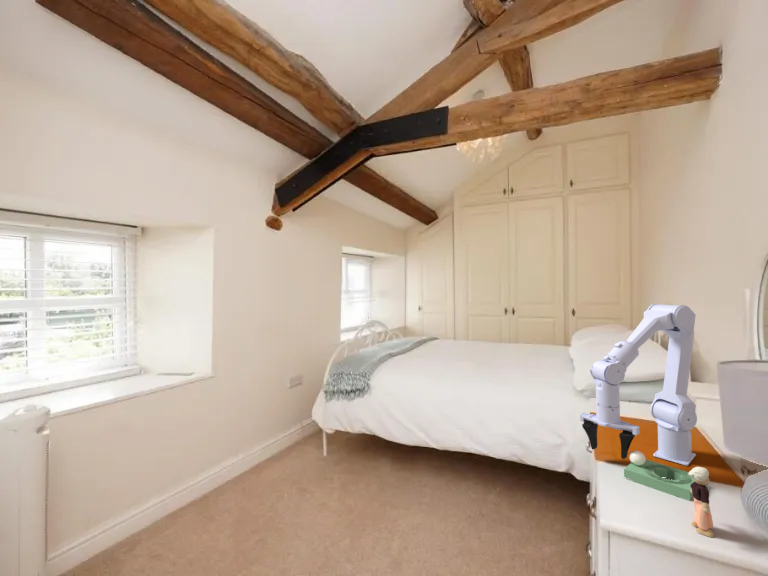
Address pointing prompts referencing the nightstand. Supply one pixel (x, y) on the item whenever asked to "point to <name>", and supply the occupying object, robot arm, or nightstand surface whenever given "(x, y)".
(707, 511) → the grandmother figurine
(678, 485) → the green
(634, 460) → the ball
